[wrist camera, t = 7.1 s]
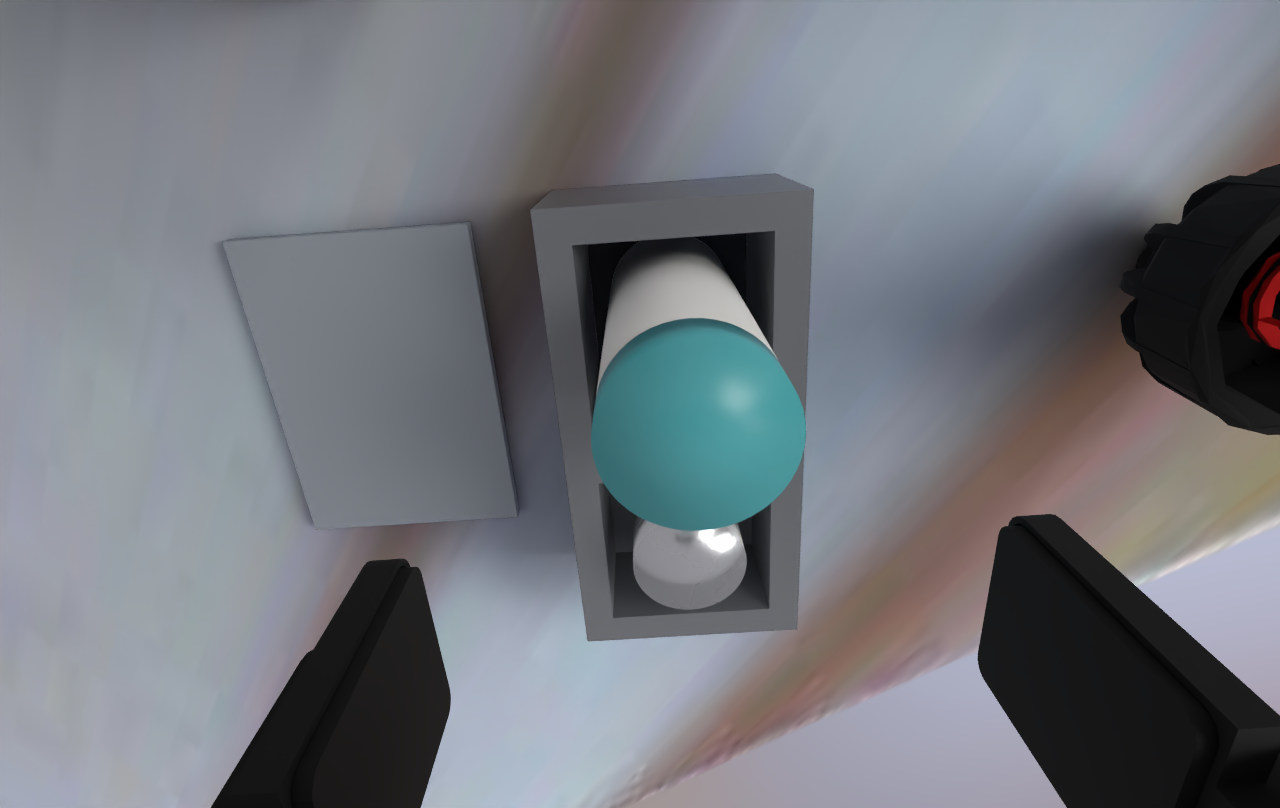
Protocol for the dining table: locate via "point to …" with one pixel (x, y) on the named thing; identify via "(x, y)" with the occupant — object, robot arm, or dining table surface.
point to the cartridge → (690, 394)
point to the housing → (561, 234)
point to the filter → (1214, 301)
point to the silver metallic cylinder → (687, 564)
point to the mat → (380, 372)
